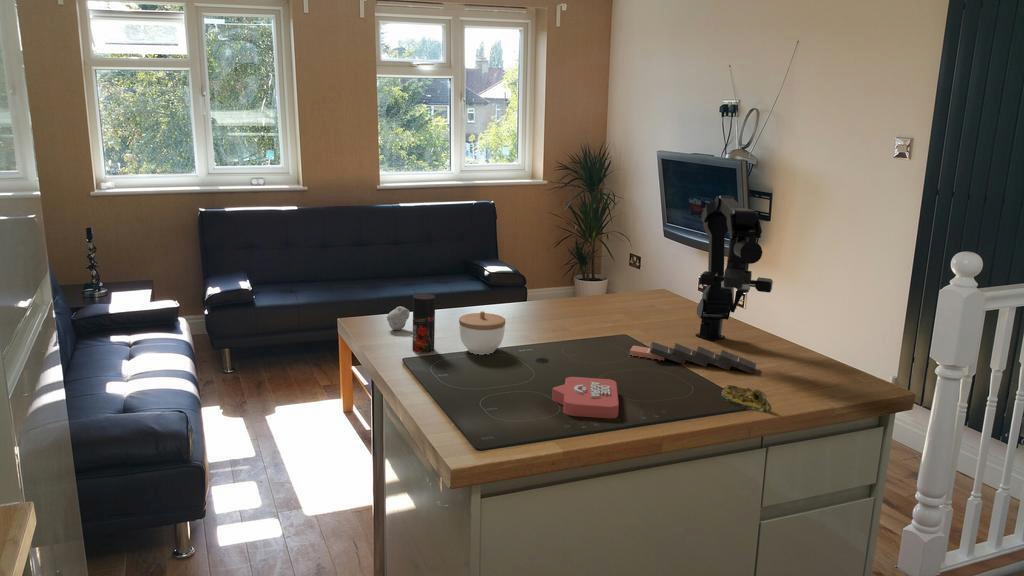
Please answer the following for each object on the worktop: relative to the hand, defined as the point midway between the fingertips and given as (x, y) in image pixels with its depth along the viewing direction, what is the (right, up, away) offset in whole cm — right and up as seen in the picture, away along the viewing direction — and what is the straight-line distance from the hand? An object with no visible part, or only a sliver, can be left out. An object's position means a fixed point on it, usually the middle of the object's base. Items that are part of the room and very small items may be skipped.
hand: (732, 312), depth 215 cm
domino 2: (-14, -12, -2) cm, 19 cm away
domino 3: (-8, -13, -4) cm, 16 cm away
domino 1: (-18, -12, 0) cm, 22 cm away
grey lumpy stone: (-94, -6, +16) cm, 96 cm away
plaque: (-44, -20, -34) cm, 59 cm away
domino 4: (-2, -14, -6) cm, 15 cm away
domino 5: (+3, -15, -8) cm, 17 cm away
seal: (-5, -21, -29) cm, 36 cm away
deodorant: (-85, -10, -2) cm, 85 cm away
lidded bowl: (-69, -11, 0) cm, 70 cm away
